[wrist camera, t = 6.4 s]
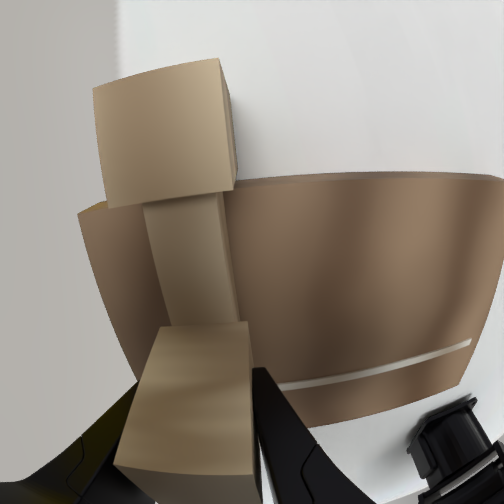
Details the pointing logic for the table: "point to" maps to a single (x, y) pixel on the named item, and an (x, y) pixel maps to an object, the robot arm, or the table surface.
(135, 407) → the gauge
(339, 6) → the table surface
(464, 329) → the board
